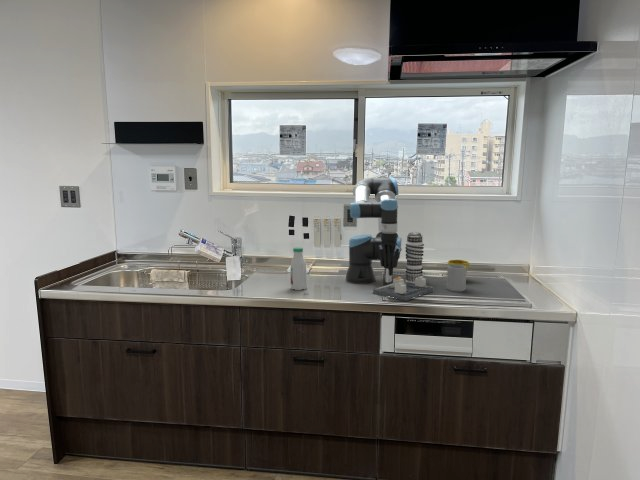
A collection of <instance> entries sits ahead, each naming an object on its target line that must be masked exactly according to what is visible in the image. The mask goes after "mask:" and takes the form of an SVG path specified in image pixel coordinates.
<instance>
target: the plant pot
mask: <svg viewBox="0 0 640 480" xmlns="http://www.w3.org/2000/svg"><path fill="white" fill-rule="evenodd" d="M449 265H463V266H466V274H467V273H468V270H469V268H470V261H468V260H464V259H450V260H447V267H448V266H449Z"/></svg>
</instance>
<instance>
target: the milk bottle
mask: <svg viewBox="0 0 640 480" xmlns="http://www.w3.org/2000/svg"><path fill="white" fill-rule="evenodd" d="M292 251H293V256H292V259H291V262H290V288H292V289H291V290H293V289H295V290H294V291H302V290H301V289H304V290H306V289H307V287H308V277H307V274H308V273H307V261H306V260H305V257H304V255H303V252H304V248H303V247H302V246H301V247H300V246H299V247H298V246H297V247H293V249H292Z"/></svg>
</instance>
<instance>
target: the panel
mask: <svg viewBox="0 0 640 480" xmlns="http://www.w3.org/2000/svg"><path fill="white" fill-rule="evenodd" d="M404 285H406V293H404V294H400V293H395V287H393V282H392V283H390V284H386V285H383V286H379V287H377V288H374V289H372V294H374V295H378V296H381V297H386V296H390V297H394V298H397V299H396V300H399V301H405V302H407V301H410V300H412V299H411V298H413V297H416V296H419V295H421V296H423V295H422V294H424V295H426V293H427V294H430V293H432V292H434V286H430V285H426V286H424V287H419V286H415V283H410V282H406V280H404ZM429 292H430V293H429ZM390 297H389V298H390ZM419 297H420V296H419ZM394 298H393V299H394ZM416 298H417V297H416ZM413 299H414V298H413Z"/></svg>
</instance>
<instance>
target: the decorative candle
mask: <svg viewBox="0 0 640 480" xmlns="http://www.w3.org/2000/svg"><path fill="white" fill-rule="evenodd" d="M424 246H425V244H424V243H423V235H422V233H421V232H418V231H415V232H413V231H411V232H409V233H408V234H407V235H406V244H405V259H406V265H405V273H406V274H405V282H410V283H415V278H418V277H420V276H423V277H424V275H423V270H424V268H423V260H424V258H423V256H424V249H425V247H424Z"/></svg>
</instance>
